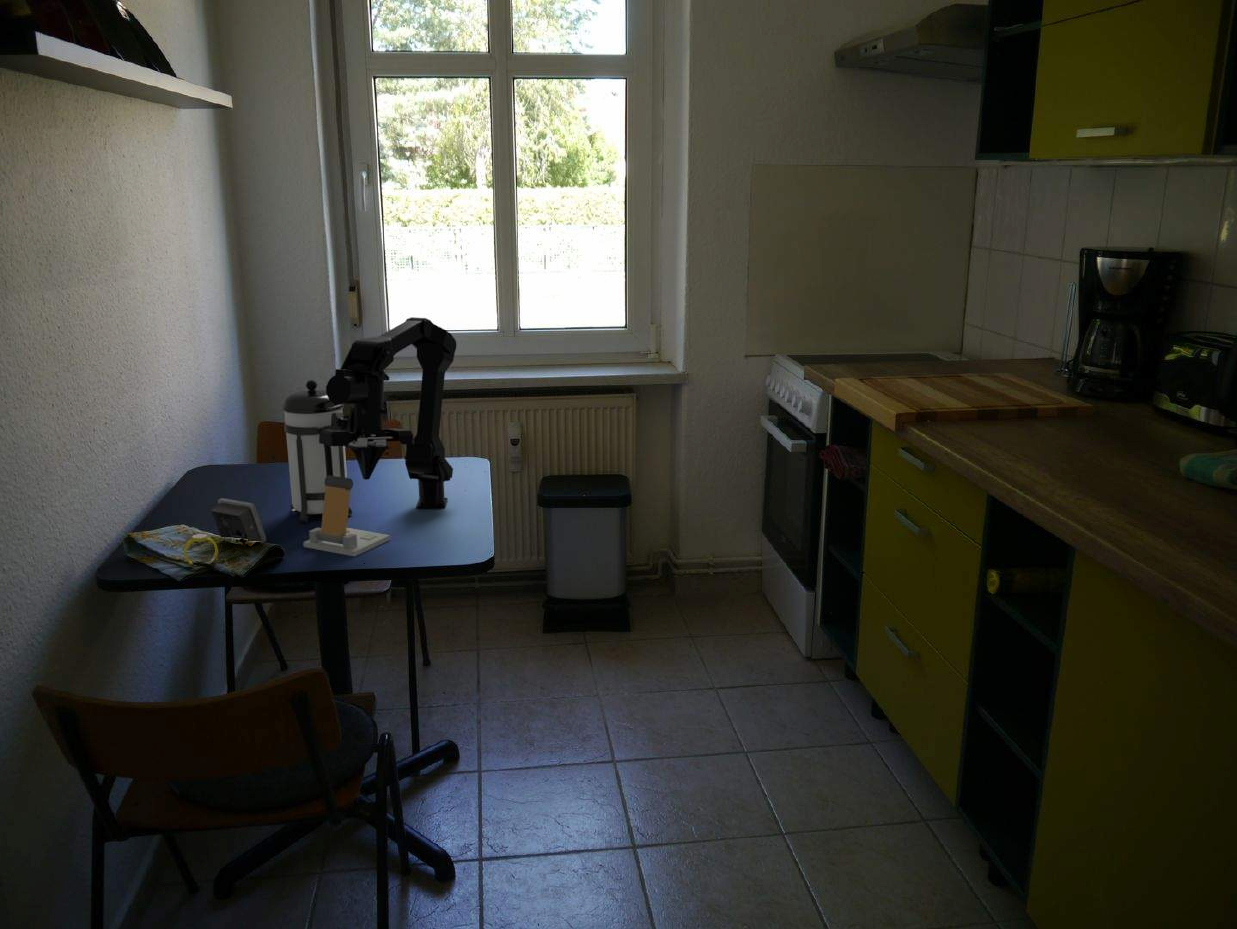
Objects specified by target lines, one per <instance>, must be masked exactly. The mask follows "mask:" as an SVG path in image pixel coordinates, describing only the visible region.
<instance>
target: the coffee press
mask: <svg viewBox="0 0 1237 929" xmlns="http://www.w3.org/2000/svg"><path fill="white" fill-rule="evenodd" d="M305 386H306V388H307V389H306V390H300V391H296V392H293V393H291V394H289V395H287V397H285V399H284V402H283V404H282V405H281V410H282V412H284V422H283V423H284V432H285V436H286V446H287V457H288V458H287V459H288V468H289V470H288V471H289V481H290V483H289V484H290V492H291V502H292V504H291V505H290V510H291V511H292V512H296V511H297V512H299V513H300V515H299V519H298V520H299V522H300V523H303V524H304V523H306V524H307V523H308V522H309V520H310V517H312V515H323V507H324V498H325V488H326V486H325V483H324V481H325V478H326V477H327V476H328V475H330V476H337V477H344V478H348V474H347V473H348V472H347V460H346V446H329V445H325V444H321V443H319V435H320V433H321V431H322V430H332V426H331V417H332V414H333V413H343V408H344V407H345V404H335V403H333V402H331V401H330V400H329V398H328V396H327V393H326V389H325V390H324V389H317V388H318V387H317V386H318V384H317V382H316V381H315V380H313V379H310V380H308V381H307V382H306V385H305ZM338 430H340V429H338ZM352 514H353V510H352V509H351V507H350V506H349V511H348V517H349V516H351V515H352Z"/></svg>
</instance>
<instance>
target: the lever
mask: <svg viewBox="0 0 1237 929" xmlns="http://www.w3.org/2000/svg"><path fill="white" fill-rule="evenodd" d="M324 483H325V486H326V488H325V498H324V507H323V514H322V517H321V518H322V519H321V527H320V528H321V531H320V532H319V533H318V539H319V540H321V541H327V542H332V543H338V544H343V537H344V536H346V529H347V528H348V517H349V516H348V514H349V513H348V511H349V507H350V500H351V492H352V489H353V486H354V482H353V479H352V478H350V477H349V478H348V477H347V478H344V477H337V476H330V475H328V476H327V477H326V478H325V481H324Z"/></svg>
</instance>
